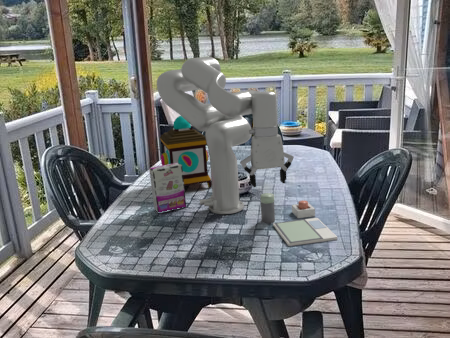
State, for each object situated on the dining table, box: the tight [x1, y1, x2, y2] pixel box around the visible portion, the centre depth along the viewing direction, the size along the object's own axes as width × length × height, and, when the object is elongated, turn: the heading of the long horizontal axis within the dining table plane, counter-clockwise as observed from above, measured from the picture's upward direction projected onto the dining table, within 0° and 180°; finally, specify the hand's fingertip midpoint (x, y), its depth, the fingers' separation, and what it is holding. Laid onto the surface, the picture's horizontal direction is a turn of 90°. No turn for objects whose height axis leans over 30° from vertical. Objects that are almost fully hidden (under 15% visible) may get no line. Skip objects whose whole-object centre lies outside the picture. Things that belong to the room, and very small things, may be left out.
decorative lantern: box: [159, 115, 212, 188], centre depth 184 cm, size 20×20×30 cm
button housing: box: [291, 202, 316, 219], centre depth 150 cm, size 6×6×3 cm
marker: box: [260, 192, 276, 225], centre depth 145 cm, size 4×4×9 cm
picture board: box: [272, 217, 339, 247], centre depth 136 cm, size 15×16×1 cm
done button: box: [297, 200, 309, 210], centre depth 150 cm, size 3×3×3 cm
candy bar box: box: [148, 163, 187, 213], centre depth 160 cm, size 11×5×16 cm, turn 117°
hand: (268, 184), depth 142 cm, fingers open, 9 cm apart
